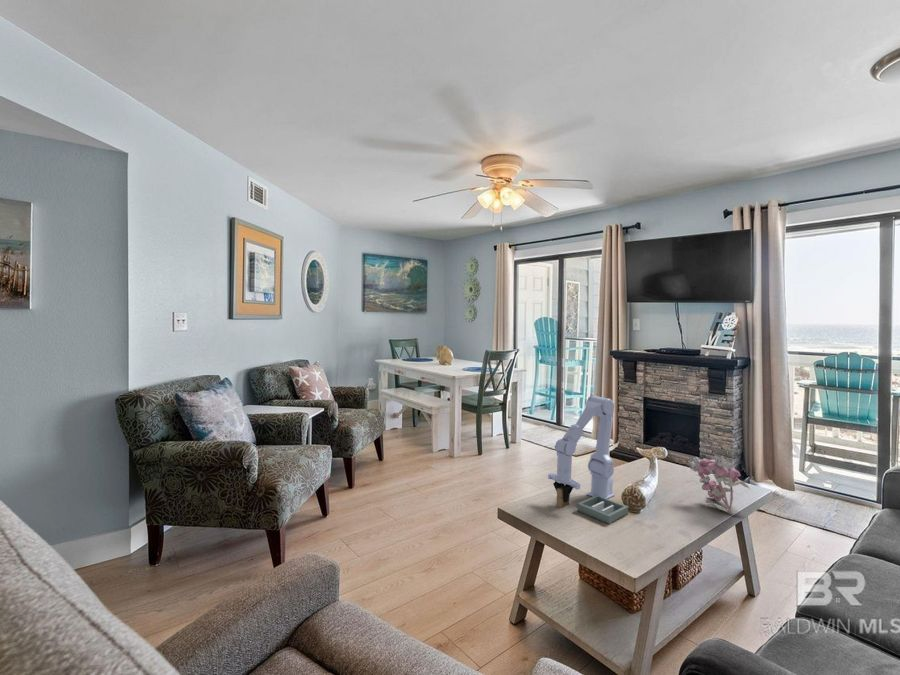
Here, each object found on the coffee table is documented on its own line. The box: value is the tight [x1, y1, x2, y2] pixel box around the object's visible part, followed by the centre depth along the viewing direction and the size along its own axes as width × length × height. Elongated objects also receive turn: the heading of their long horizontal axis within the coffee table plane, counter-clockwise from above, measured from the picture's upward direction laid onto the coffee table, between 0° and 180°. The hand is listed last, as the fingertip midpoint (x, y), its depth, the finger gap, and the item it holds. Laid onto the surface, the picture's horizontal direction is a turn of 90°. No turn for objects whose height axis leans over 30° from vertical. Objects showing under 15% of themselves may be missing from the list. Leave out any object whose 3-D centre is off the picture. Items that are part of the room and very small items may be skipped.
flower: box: [687, 454, 750, 516], centre depth 185 cm, size 20×22×24 cm
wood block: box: [556, 487, 571, 509], centre depth 183 cm, size 6×2×8 cm, turn 130°
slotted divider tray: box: [576, 495, 629, 525], centre depth 176 cm, size 14×14×3 cm
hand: (563, 500), depth 183 cm, fingers closed on wood block, 2 cm apart
